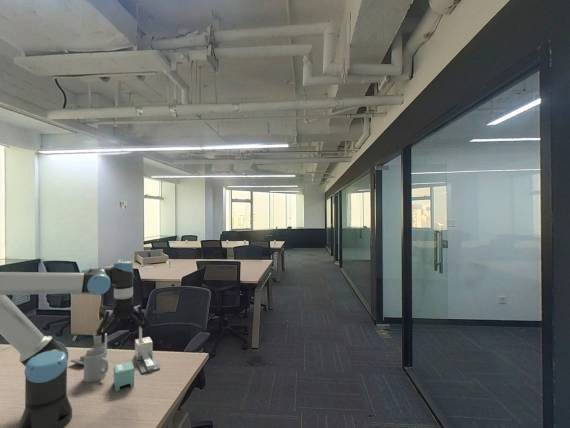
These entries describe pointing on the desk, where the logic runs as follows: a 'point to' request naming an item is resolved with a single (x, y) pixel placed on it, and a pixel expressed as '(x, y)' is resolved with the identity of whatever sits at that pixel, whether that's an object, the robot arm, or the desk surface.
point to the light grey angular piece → (145, 356)
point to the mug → (95, 365)
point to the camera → (97, 345)
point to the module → (123, 375)
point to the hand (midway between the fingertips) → (123, 345)
